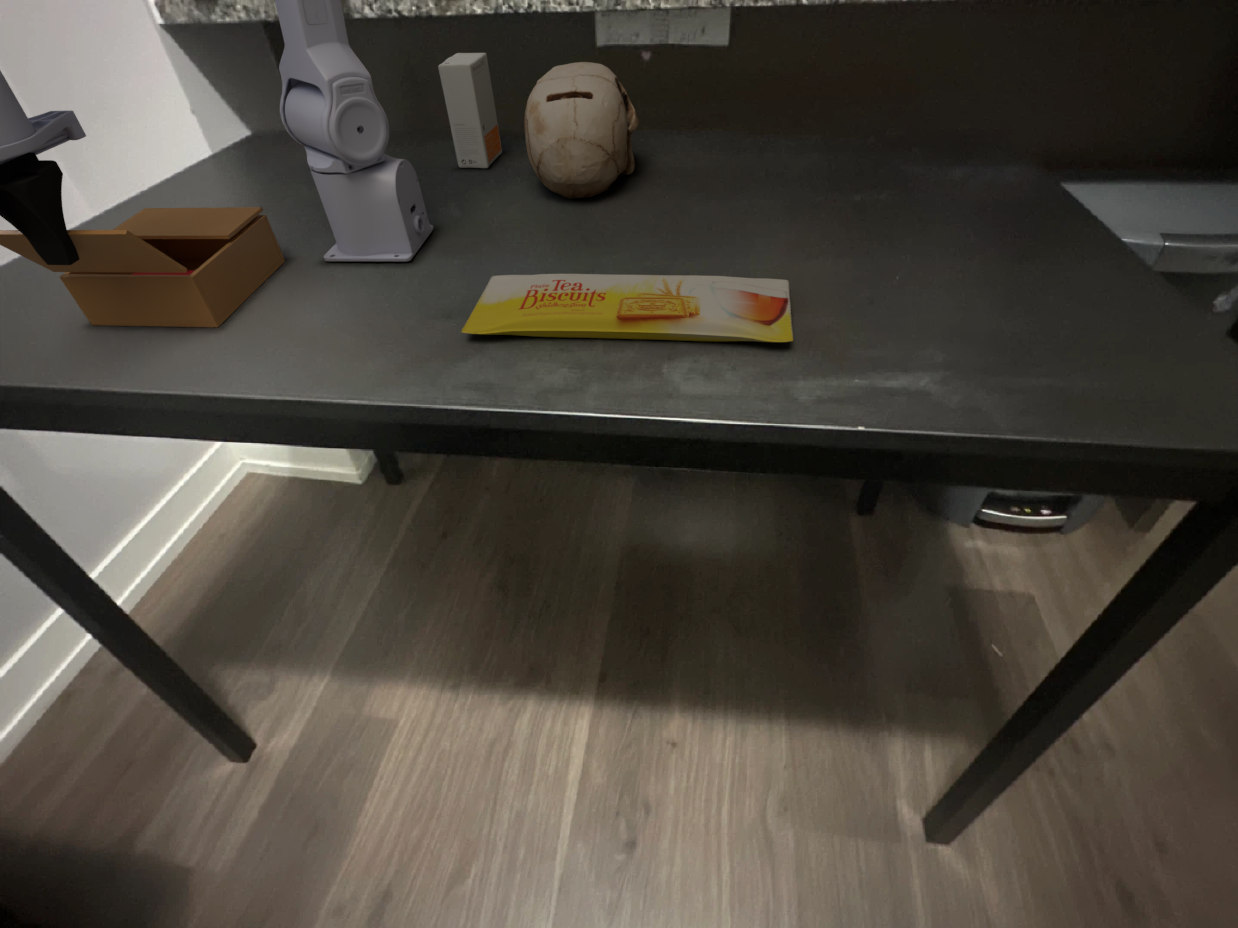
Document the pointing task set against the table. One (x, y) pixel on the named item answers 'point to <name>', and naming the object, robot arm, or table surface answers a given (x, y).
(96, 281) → the carton
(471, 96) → the cosmetic box
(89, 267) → the flap
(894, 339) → the table surface
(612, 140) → the coin bank
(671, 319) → the food package
